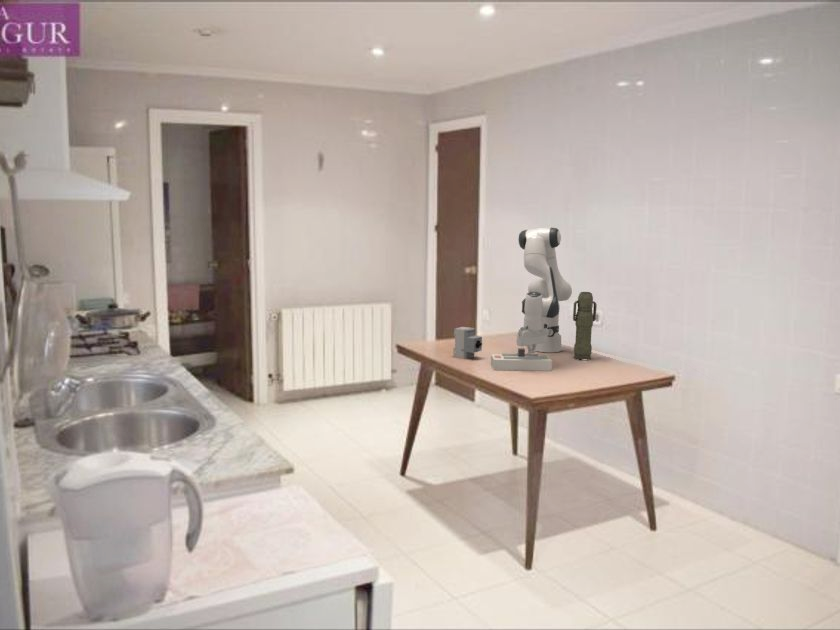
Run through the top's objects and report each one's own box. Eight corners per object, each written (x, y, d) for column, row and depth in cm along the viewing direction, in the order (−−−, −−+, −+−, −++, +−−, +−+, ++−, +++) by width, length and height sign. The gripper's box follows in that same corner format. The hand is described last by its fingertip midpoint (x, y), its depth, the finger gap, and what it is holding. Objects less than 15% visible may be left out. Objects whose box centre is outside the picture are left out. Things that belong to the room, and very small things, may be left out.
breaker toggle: (517, 356, 356) (517, 348, 355) (523, 356, 356) (523, 348, 355) (518, 357, 353) (518, 349, 352) (524, 357, 353) (524, 349, 352)
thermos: (596, 359, 376) (600, 293, 371) (575, 360, 373) (579, 293, 368) (588, 356, 385) (592, 291, 379) (568, 357, 382) (571, 291, 377)
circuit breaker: (476, 360, 369) (477, 331, 367) (453, 356, 378) (453, 328, 375) (484, 358, 375) (484, 329, 373) (461, 354, 383) (462, 326, 381)
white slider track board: (490, 364, 362) (491, 352, 361) (546, 364, 362) (547, 353, 361) (493, 369, 349) (494, 357, 348) (551, 370, 349) (552, 358, 348)
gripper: (524, 328, 343) (523, 357, 345) (550, 324, 357) (549, 351, 359) (514, 326, 347) (512, 354, 349) (540, 322, 361) (539, 349, 363)
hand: (531, 353), depth 354 cm, fingers closed
